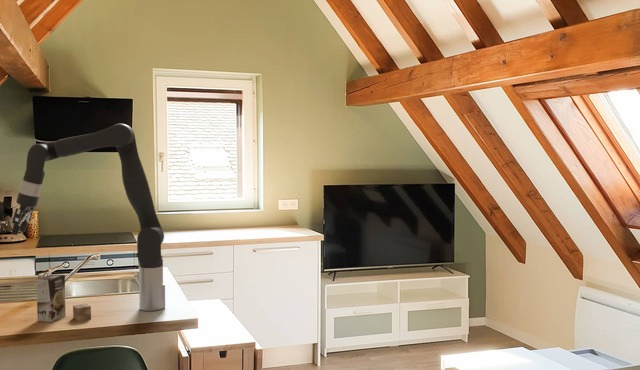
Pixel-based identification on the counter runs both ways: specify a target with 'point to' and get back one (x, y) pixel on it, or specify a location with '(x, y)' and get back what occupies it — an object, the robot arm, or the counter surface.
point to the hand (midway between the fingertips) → (18, 233)
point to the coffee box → (50, 298)
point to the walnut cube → (81, 312)
